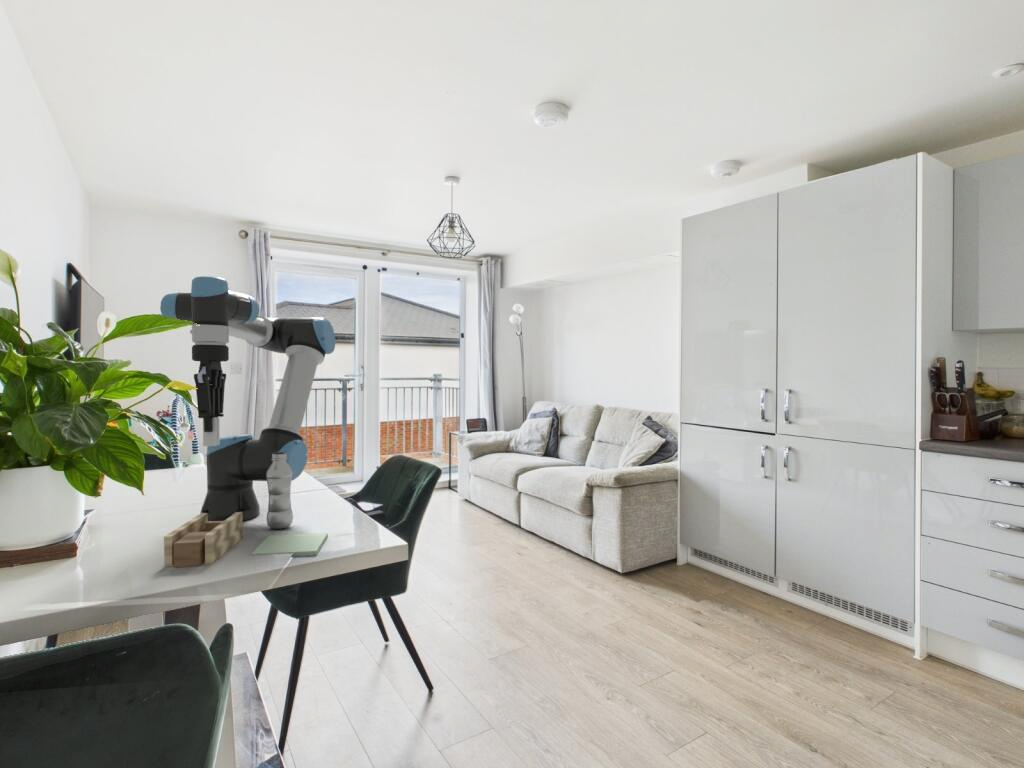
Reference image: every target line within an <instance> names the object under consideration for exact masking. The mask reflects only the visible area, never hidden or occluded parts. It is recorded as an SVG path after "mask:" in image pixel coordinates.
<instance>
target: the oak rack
mask: <svg viewBox="0 0 1024 768" xmlns="http://www.w3.org/2000/svg"><path fill="white" fill-rule="evenodd" d="M190 532H208V533H207V534H206V535H205V562H204V563H202V564H201V565H213V564H215V562H217V561H218V560H219V559H220V558H221V557H223V556H224V554H226V553H227V552H228V551H229V550H230V549H231V548H233V546H235V545H236V544H237V543H239V541H240V540H242V539H243V534H244V532H243V520H242V512H236V513H234V514H233V515H232V516H230V517H229V518H228V519H226V520H225V521H208V513H202V514H200V513H199V514H197V515H196V516H194V517H193V518H192V519H190V520H189V521H187V522H185V523H184V524H181V526H179V527H178V528H176V529H174V530H173V531H171V532H169V533H168V534H166V535H165V536H163V546H164V547H163V553H164V555H163V556H164V560H163V561H164V562H163V564H164V565H163V566H164V567H174V543H175V542H176V541H178V540H179V539H181V538H182V537H184V536H185V535H187V534H188V533H190ZM201 565H200V566H201Z"/></svg>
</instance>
